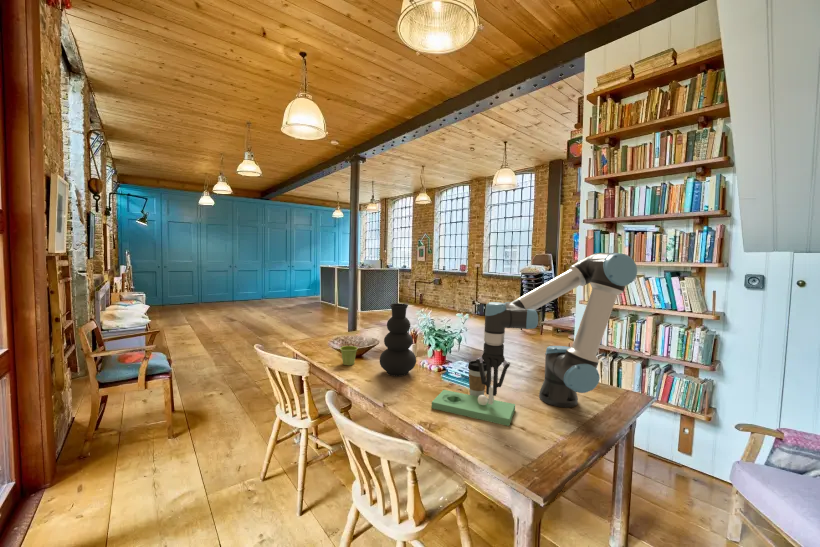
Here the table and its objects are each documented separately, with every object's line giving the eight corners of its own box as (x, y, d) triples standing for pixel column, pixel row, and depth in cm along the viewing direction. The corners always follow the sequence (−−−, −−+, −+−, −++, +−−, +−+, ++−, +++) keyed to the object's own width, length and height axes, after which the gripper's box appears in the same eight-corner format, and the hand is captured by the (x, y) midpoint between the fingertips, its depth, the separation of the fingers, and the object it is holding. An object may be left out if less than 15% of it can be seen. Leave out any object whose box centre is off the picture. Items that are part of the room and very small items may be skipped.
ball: (485, 391, 137) (476, 395, 139) (483, 395, 134) (474, 399, 135) (490, 400, 137) (482, 404, 138) (488, 405, 133) (479, 408, 135)
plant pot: (351, 360, 195) (352, 344, 195) (360, 364, 188) (360, 348, 187) (336, 363, 189) (336, 347, 189) (345, 367, 182) (345, 351, 181)
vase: (403, 383, 163) (405, 309, 161) (371, 375, 172) (373, 305, 170) (422, 371, 179) (423, 304, 177) (392, 365, 188) (393, 300, 186)
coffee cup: (486, 401, 145) (488, 366, 144) (466, 399, 147) (467, 364, 146) (486, 393, 153) (487, 360, 152) (467, 391, 155) (468, 358, 154)
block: (515, 410, 138) (515, 404, 138) (509, 426, 125) (509, 419, 125) (443, 395, 150) (443, 389, 150) (431, 408, 138) (431, 402, 138)
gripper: (512, 343, 134) (509, 402, 135) (479, 338, 139) (476, 395, 141) (509, 347, 127) (506, 410, 128) (474, 342, 132) (471, 403, 134)
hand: (490, 402), depth 134 cm, fingers closed
